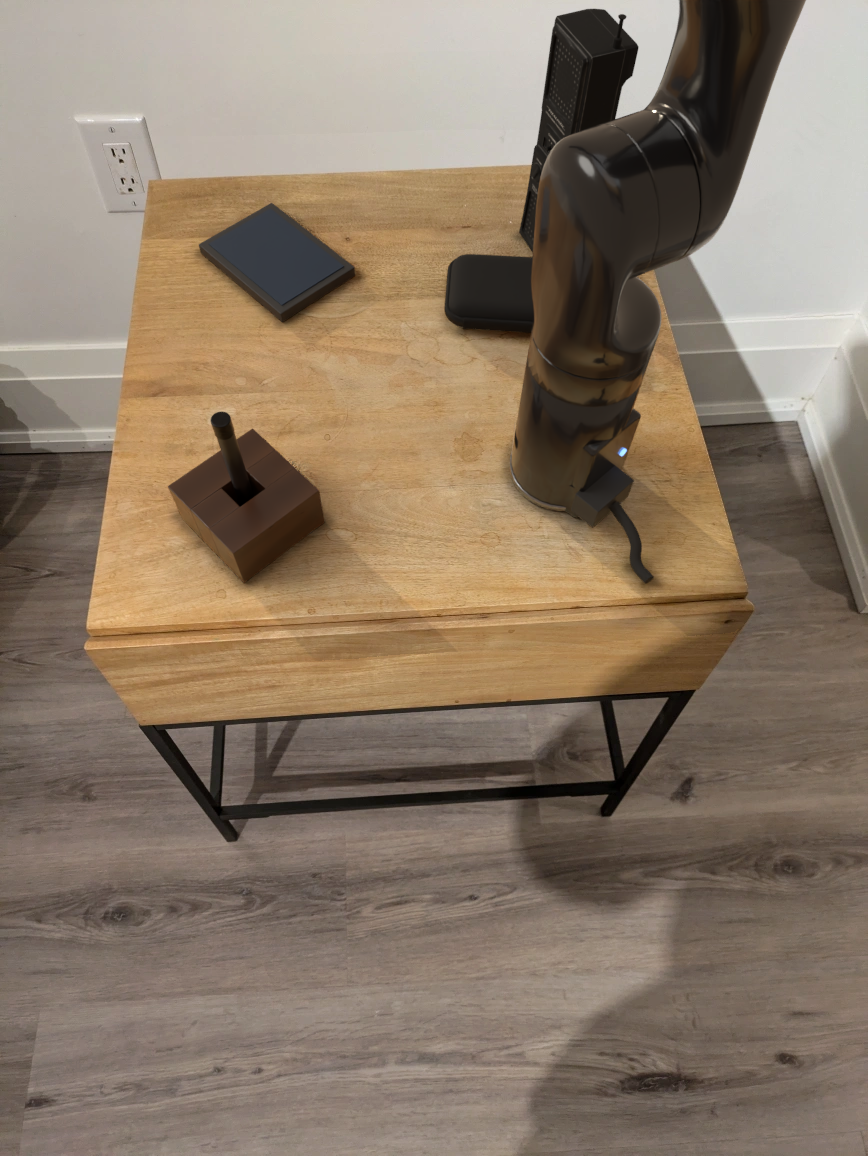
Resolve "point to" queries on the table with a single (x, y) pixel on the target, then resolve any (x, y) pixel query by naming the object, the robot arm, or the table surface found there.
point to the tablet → (277, 261)
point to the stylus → (232, 456)
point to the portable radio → (578, 87)
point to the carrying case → (490, 293)
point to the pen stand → (249, 507)
